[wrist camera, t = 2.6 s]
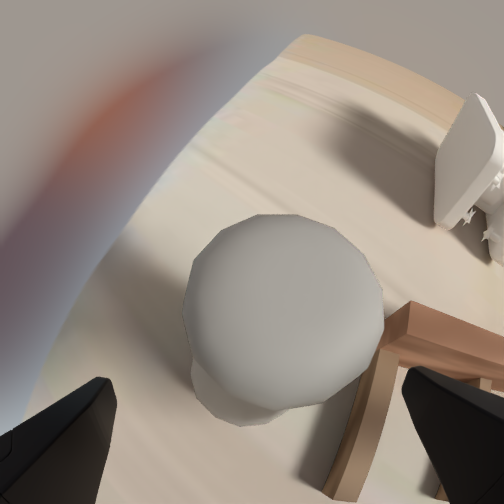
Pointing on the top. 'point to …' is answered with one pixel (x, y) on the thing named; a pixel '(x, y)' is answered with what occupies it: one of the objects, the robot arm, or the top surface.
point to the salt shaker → (279, 317)
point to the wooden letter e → (409, 355)
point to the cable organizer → (472, 173)
